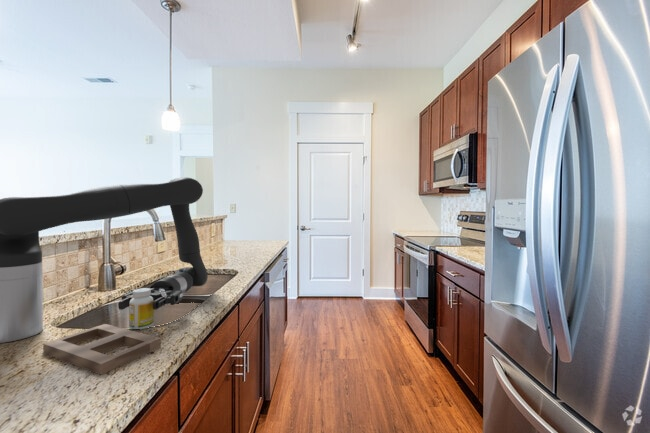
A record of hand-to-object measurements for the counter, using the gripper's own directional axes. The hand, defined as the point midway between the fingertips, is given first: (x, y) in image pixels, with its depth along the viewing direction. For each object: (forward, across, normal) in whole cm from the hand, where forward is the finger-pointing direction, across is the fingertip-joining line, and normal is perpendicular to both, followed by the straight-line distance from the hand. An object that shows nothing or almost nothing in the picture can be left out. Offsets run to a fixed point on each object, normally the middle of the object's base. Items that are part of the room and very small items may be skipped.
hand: (137, 305), depth 75 cm
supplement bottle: (-2, 0, +6) cm, 6 cm away
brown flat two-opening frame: (+11, 0, +6) cm, 13 cm away
